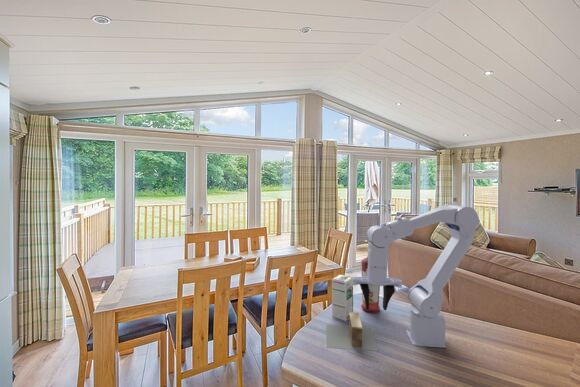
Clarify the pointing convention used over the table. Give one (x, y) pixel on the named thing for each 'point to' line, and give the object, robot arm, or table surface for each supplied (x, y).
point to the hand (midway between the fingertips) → (375, 308)
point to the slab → (355, 329)
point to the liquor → (373, 290)
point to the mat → (341, 338)
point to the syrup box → (342, 297)
